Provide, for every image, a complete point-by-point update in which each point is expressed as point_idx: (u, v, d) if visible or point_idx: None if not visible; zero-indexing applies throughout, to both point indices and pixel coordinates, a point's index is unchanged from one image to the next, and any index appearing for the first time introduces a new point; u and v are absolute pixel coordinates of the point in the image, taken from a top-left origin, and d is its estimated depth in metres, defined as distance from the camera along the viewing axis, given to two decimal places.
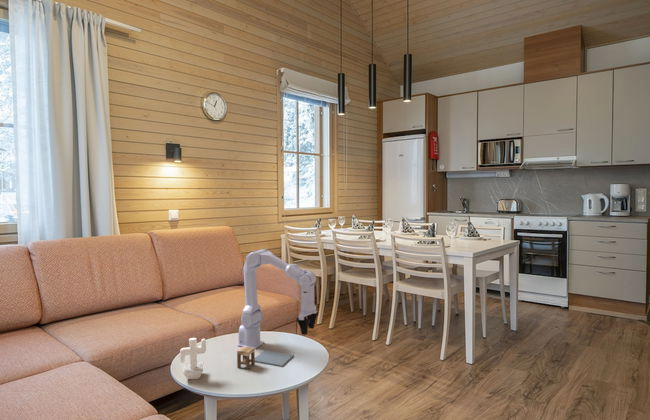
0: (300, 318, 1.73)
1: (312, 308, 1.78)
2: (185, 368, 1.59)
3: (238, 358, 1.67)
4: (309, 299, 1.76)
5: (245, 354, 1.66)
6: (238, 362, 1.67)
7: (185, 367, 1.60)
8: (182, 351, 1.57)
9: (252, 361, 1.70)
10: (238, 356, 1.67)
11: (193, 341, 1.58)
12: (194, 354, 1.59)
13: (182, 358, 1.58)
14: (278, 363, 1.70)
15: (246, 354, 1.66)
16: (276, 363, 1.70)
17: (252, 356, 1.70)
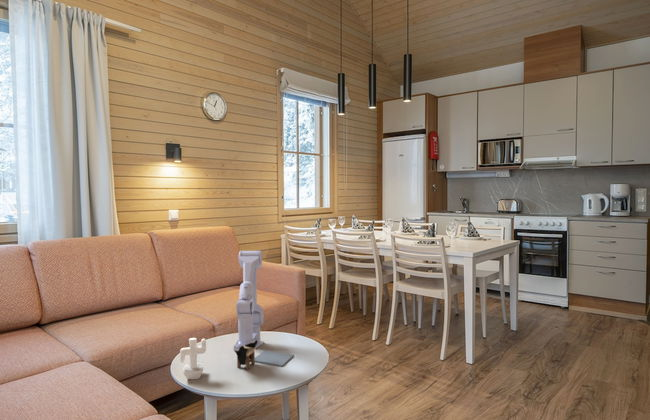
0: (235, 349, 1.62)
1: (249, 337, 1.66)
2: (185, 368, 1.59)
3: None
4: (239, 327, 1.66)
5: None
6: (238, 362, 1.67)
7: (185, 367, 1.60)
8: (182, 351, 1.58)
9: (252, 361, 1.70)
10: None
11: (193, 341, 1.58)
12: (194, 354, 1.59)
13: (182, 358, 1.58)
14: (278, 363, 1.70)
15: (246, 354, 1.66)
16: (276, 363, 1.70)
17: (252, 356, 1.70)
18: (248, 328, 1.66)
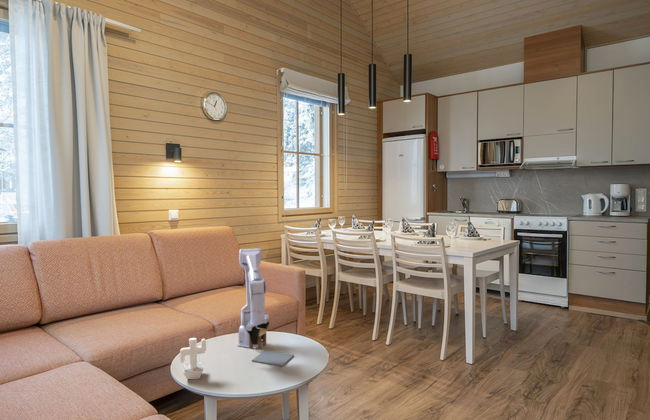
0: (247, 328, 1.64)
1: (262, 318, 1.69)
2: (185, 368, 1.59)
3: None
4: (252, 308, 1.68)
5: None
6: (250, 342, 1.70)
7: (185, 367, 1.60)
8: (182, 351, 1.58)
9: (264, 342, 1.72)
10: None
11: (193, 341, 1.58)
12: (194, 354, 1.59)
13: (182, 358, 1.58)
14: (278, 363, 1.70)
15: None
16: (276, 363, 1.70)
17: (264, 337, 1.72)
18: (262, 308, 1.69)
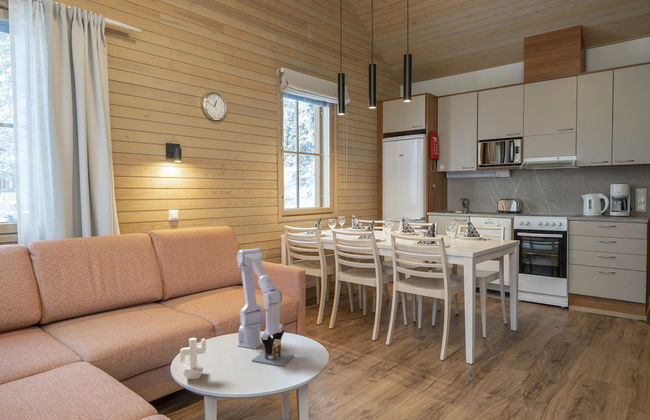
0: (263, 338, 1.68)
1: (277, 327, 1.73)
2: (185, 368, 1.59)
3: None
4: (270, 318, 1.72)
5: None
6: (266, 354, 1.74)
7: (185, 367, 1.60)
8: (182, 351, 1.57)
9: (279, 353, 1.76)
10: None
11: (193, 341, 1.58)
12: (194, 354, 1.59)
13: (182, 358, 1.58)
14: (278, 363, 1.70)
15: (273, 346, 1.72)
16: (276, 363, 1.70)
17: (279, 348, 1.76)
18: (278, 317, 1.74)
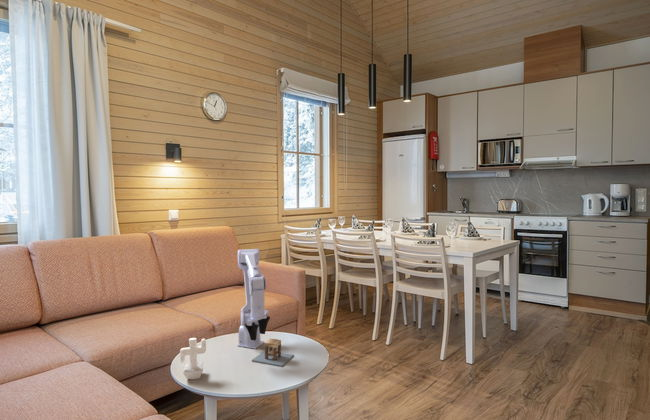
0: (248, 323, 1.68)
1: (261, 313, 1.73)
2: (185, 368, 1.59)
3: (266, 350, 1.74)
4: (252, 304, 1.72)
5: (273, 346, 1.73)
6: (266, 354, 1.74)
7: (185, 367, 1.60)
8: (182, 351, 1.58)
9: (279, 353, 1.76)
10: (266, 348, 1.74)
11: (193, 341, 1.58)
12: (194, 354, 1.59)
13: (182, 358, 1.58)
14: (278, 363, 1.70)
15: (274, 346, 1.72)
16: (276, 363, 1.70)
17: (279, 348, 1.76)
18: (262, 304, 1.73)
